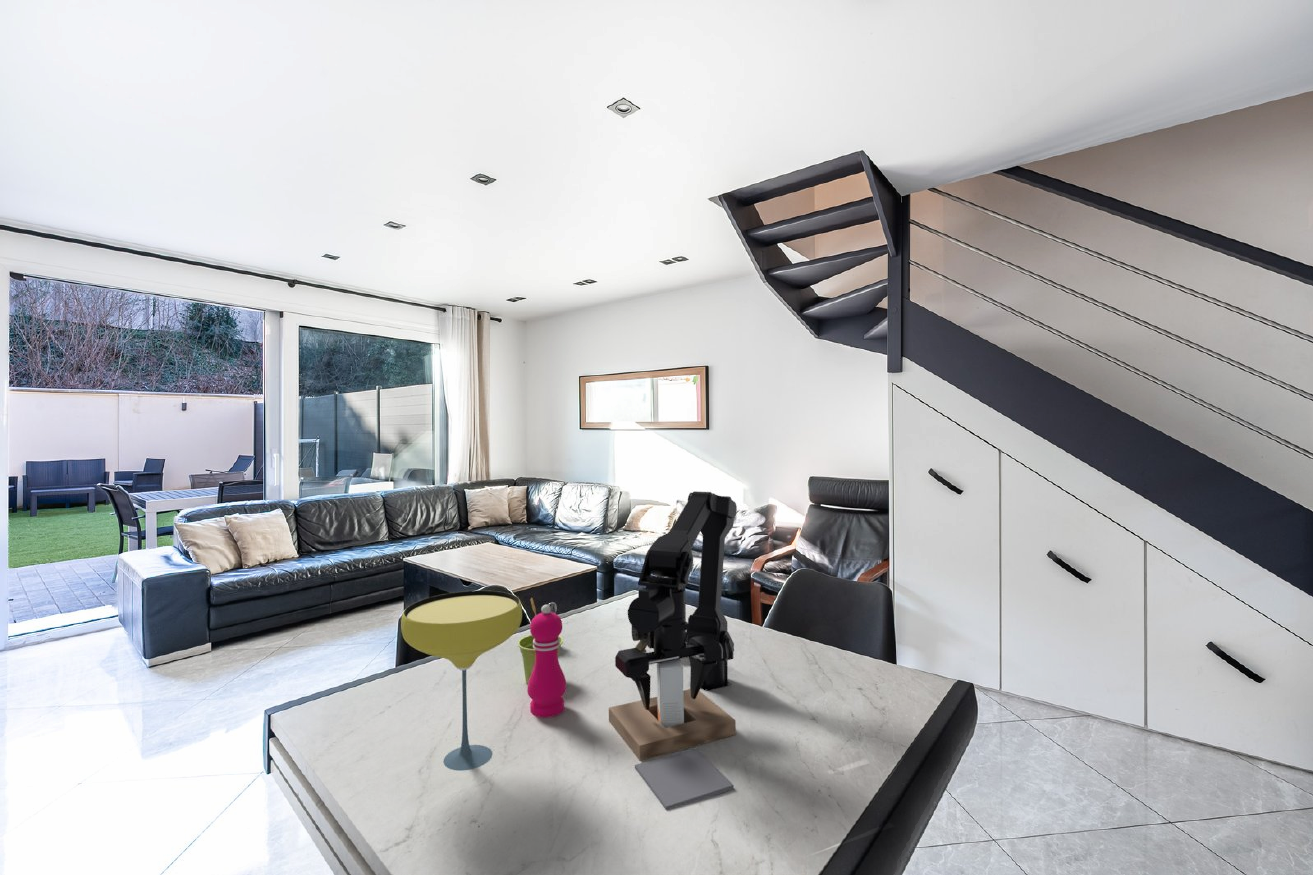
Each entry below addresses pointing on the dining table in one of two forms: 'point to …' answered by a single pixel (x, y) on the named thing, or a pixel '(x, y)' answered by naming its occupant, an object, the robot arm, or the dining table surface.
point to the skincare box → (670, 693)
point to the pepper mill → (546, 666)
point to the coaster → (683, 778)
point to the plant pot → (530, 654)
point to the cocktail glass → (462, 643)
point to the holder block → (656, 740)
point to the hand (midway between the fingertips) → (670, 703)
